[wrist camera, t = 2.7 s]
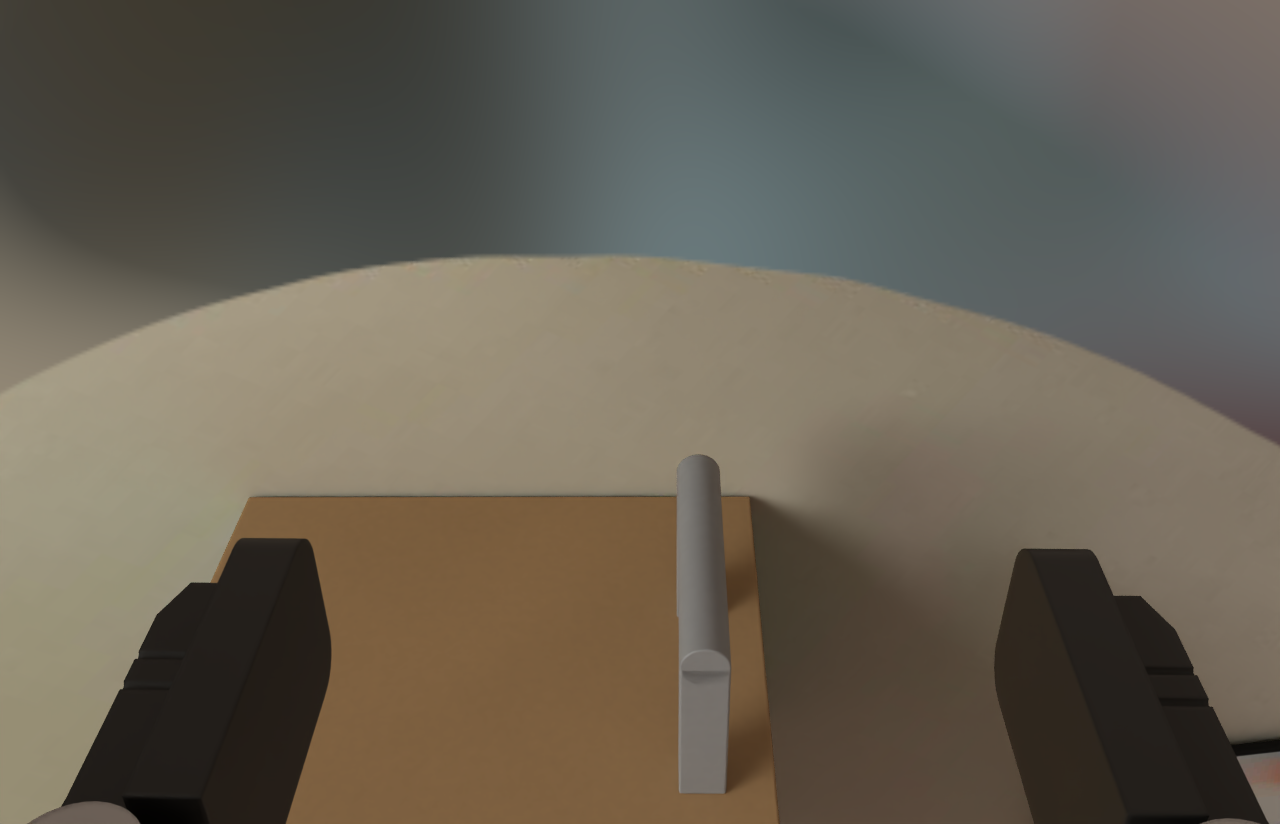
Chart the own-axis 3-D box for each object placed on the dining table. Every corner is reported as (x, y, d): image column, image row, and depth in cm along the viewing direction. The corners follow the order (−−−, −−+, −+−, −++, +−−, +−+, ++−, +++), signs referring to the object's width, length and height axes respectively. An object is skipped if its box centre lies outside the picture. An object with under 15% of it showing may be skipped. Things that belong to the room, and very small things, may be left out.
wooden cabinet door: (216, 367, 50) (-38, 814, 32) (755, 366, 50) (807, 818, 32) (253, 513, 55) (48, 978, 37) (749, 513, 54) (791, 984, 36)
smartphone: (1327, 831, 65) (1043, 860, 67) (1322, 820, 66) (1040, 849, 68) (1346, 740, 61) (1042, 773, 63) (1340, 729, 62) (1038, 763, 64)
